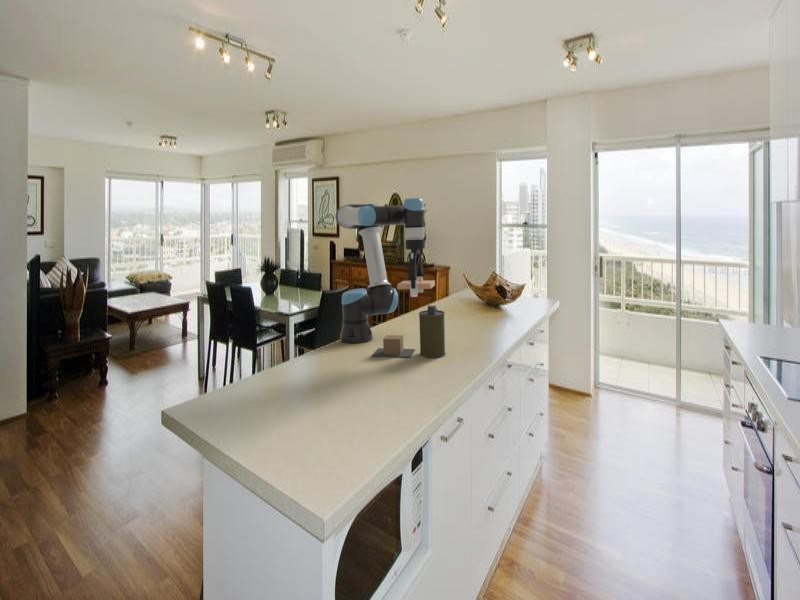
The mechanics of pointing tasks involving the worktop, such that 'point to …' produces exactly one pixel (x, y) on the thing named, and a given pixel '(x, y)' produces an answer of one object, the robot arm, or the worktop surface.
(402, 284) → the lid
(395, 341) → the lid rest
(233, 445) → the worktop surface
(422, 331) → the canister
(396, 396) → the worktop surface
